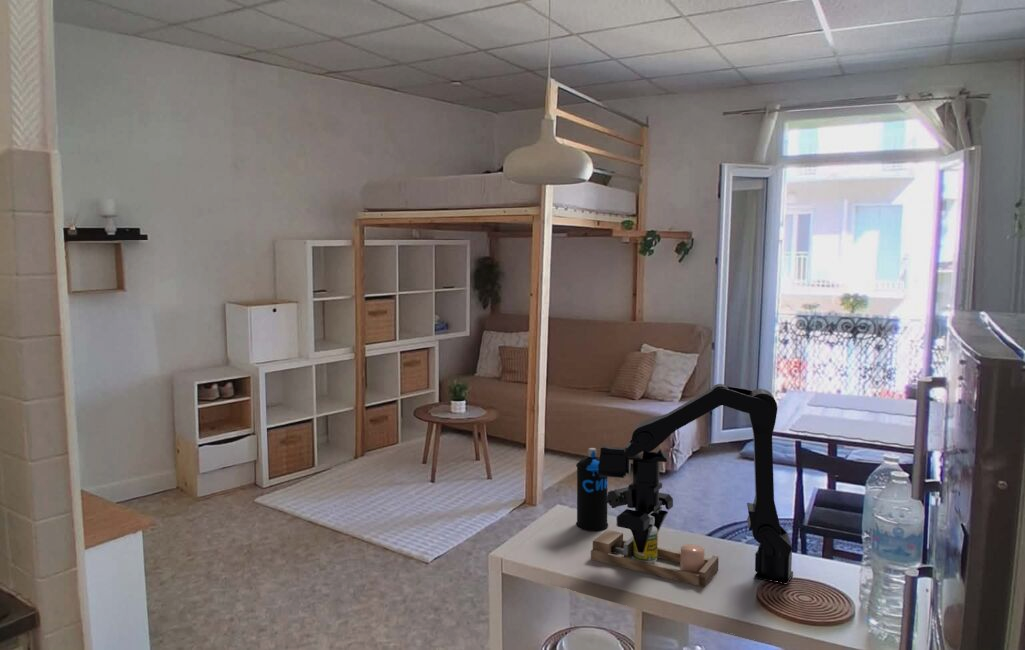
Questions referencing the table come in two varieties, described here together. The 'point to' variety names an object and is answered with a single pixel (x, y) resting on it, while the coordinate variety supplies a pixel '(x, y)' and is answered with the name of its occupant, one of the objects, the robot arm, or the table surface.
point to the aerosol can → (591, 494)
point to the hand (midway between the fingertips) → (645, 547)
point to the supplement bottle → (648, 546)
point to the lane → (614, 538)
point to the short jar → (692, 558)
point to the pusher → (625, 549)
